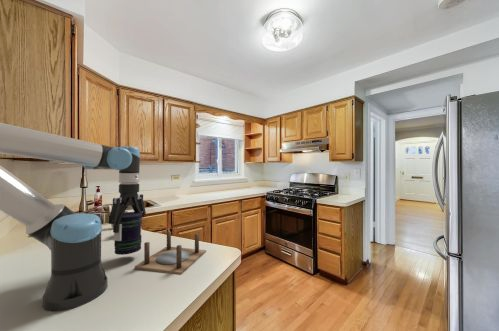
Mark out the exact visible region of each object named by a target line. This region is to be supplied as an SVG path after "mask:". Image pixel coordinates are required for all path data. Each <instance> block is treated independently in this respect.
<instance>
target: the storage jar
mask: <svg viewBox="0 0 499 331" xmlns="http://www.w3.org/2000/svg"><path fill="white" fill-rule="evenodd" d="M141 215H142V213H141V212H139V213H137V214H136V212H134V211H129V212H126V213H124V215H123V217H122V219H121V222H120V224H122V237H121V241H114V240H113V241H114V254H116V255H117V256H118V255H119V256H120V255H122V256H123V255H130V254H134V253H137V252H139V251H140V250H142V226H143V217H142V216H141Z"/></svg>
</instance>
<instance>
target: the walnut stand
mask: <svg viewBox="0 0 499 331" xmlns="http://www.w3.org/2000/svg"><path fill="white" fill-rule="evenodd" d="M150 244H151V243H150V242H149V241H146V242H144V253H143V254H144V255H143V256H144V260H143V261H141V262H139V263H138V264H136V265H134V270H138V271H149V272H157V273H158V272H159V273H167V274H175V275H183V274H184V273H185V272H186V271H187V270H189V268H190V267H191V266H192V265H193V264H195V263H196V262H197V261H198V260H199V259H200V258H201V257H203V256H204V254H206V253H207V250H206V249H200V234H199V233H197V232H196V233H194V248H187V247H183V246H182V245H181V244H178V245H176V246H172V232H171V231H170V230H169V231H166V246H165V247H164V248H162V249H159V250H158V251H157V252H155V253H153V254H152V255H151V256H150V249H151V248H150Z"/></svg>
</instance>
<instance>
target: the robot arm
mask: <svg viewBox="0 0 499 331" xmlns="http://www.w3.org/2000/svg"><path fill="white" fill-rule="evenodd" d="M0 154H1V155H2V154H3V155H11V156H16V157H17V156H18V157H23V158H29V159H30V158H31V159H39V160H46V161H53V162H58V163H59V162H60V163H68V164H73V165H80V166H82V167H83V168H84V169H86V170H115V171H118V183H119V185H118V193H119V194H120V195H119V197H114V198H112V207H111V210H110V213H109V214H110V216H109V218H108V223H107V224H109V225H111V224H113V228H112V232H113V235H114V236H113V241H121V237H122V224H120V222H121V219H122V217H123V215H124V213H125V211H127V209H128V207H129V206H131V208H132V210H133V212H136V214H137V213H139V212H141V213H142V215H141V216H142V218H145V216H146V214H147V212H146V207H145V203H144V194H139V193H140V166H141V165H140V162H141V152H140V148H139V147H136V146H125V145H124V146H122V145H121V146H115V147H113V146H110V145H106V144H105V145H103V144H101V143H97V142H90V141H87V140H81V139H78V138H73V137H68V136H65V135H64V136H63V135H59V134H54V133H49V132H45V131H41V130H35V129H32V128H26V127H22V126H18V125H13V124H8V123H4V122H0ZM0 211H1V212H2V213H5V214H6V215H7V216H9V217H11V218H12V219H15V221H17V222H19V223H21V224H22V225H24V226H25V234H26V235H28V236H30V237H32V238H34V240H37V241H38V242H40V243H42V245H45V246H46V247H48V249H49V250H50V253H51V255H50V258H51V259H50V260H51V263H50V268H51V269H50V270H51V271H50V277H49V280H48V283H47V286H46V288H45V291H44V293H43V295H42V300H41V301H42V303H41V304H42V305H41V306H42V308H43V309H44V310H45V309H47V310H46V311H49V310H54V311H53V312H56V311H55V310H60V311H65V310H70V309H73V308H74V309H75V308H77V307H80V306H83V305H85V304H87V303H89V302H91V301H93V300H95V299H97V298H99V297H100V296H101V295H103V294H104V292H106V290H107V289H108V282H109V281H108V280H109V279H108V277H107V274H106V271H105V269H104V267H103V265H102V229H103V227H102V226H103V225H102V219H101V218H100V216H98V215H96V214H94V213H82V212H81V213H76V212H74V211H73V210H72V209H70V208H69V207H68V206H66V205H65V204H63V203H60V204H57V203H56V204H55V203H53V202H52V201H50V200H49V199H48V198H46V197H45V196H44V195H42V194H40V193H39V192H38V191H36V190H35V189H34V188H32V187H31V186H30V185H28V184H27V183H25V182H24V181H23V180H21V179H20V178H18V177H17V176H16V175H14V174H13V173H11V172H10V171H9V170H7V169H6V168H5V167H3V165H1V164H0ZM112 220H113V221H112Z"/></svg>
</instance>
